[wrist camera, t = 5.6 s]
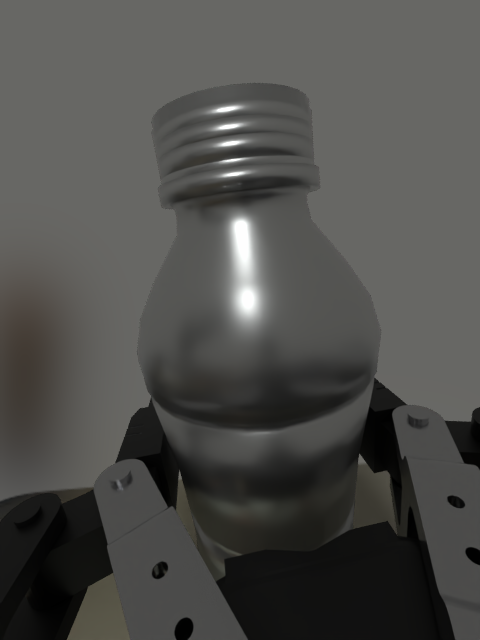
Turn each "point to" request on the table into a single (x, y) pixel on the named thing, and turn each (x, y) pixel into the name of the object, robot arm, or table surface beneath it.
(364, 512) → the table surface
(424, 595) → the robot arm
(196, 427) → the plastic bottle
